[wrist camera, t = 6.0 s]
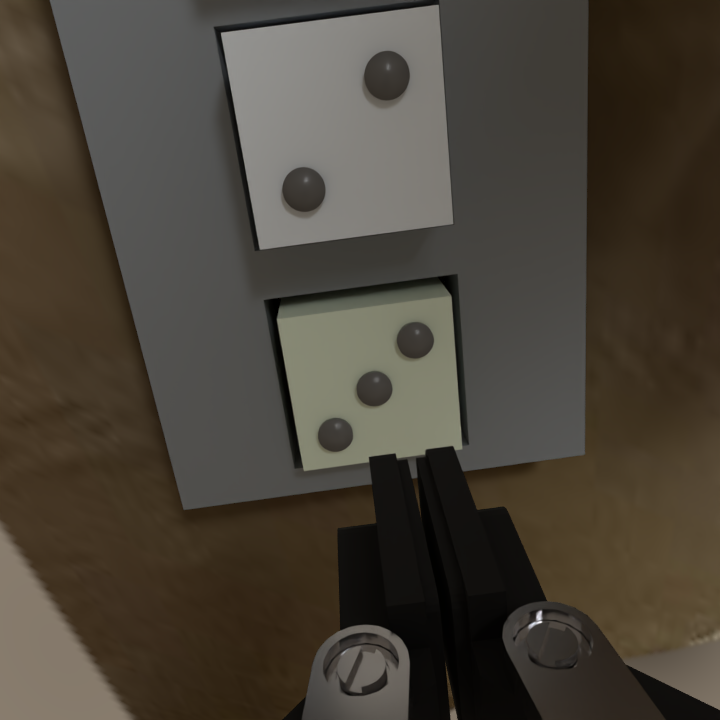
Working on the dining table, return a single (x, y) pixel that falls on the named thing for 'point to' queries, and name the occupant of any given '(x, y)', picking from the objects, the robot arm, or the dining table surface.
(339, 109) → the tile two
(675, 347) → the dining table surface
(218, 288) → the board
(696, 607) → the dining table surface
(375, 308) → the tile three
